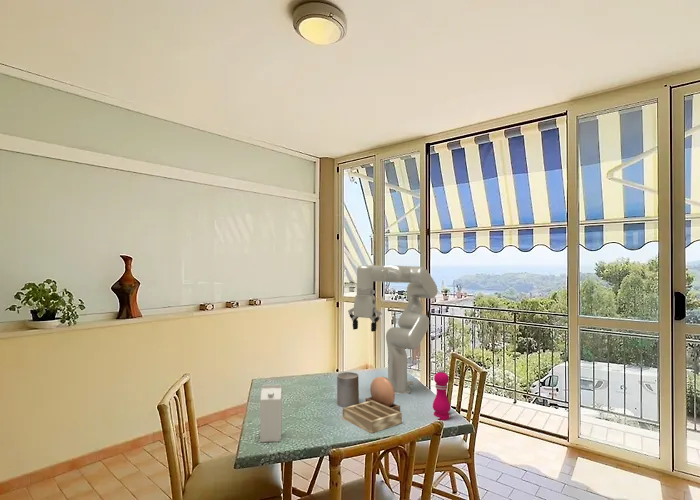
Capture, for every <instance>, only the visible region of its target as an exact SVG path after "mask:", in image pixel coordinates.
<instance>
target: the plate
mask: <svg viewBox="0 0 700 500" xmlns="http://www.w3.org/2000/svg"><path fill="white" fill-rule="evenodd" d="M370 397H372V399H373V400H374V401H376V402H379V403H381V404H383V405H386V406H388V407H391V406H392V405H393V403H394V404H395V399H396V394H395V392H394V388H393V385H392V384H391V382H390V381H389V380H388V377H385V376H378V377H375V378H374V379H372V381H371V384H370Z"/></svg>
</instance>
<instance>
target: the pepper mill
mask: <svg viewBox="0 0 700 500" xmlns="http://www.w3.org/2000/svg"><path fill="white" fill-rule="evenodd" d="M433 379H434V382H435V389H436V396H435V397H434V400H433V403H432V409H433V411H434V412H433V415H434V417H436V418H437V420H439V421H448V420H450V413H449V412H450V411H451V403H450V400H449V397H448V394H447V390H448V386H449V385H448V383H449V381H450V377H449V375H448V374H447V373H445V371H444V369H443V368H440V369H439V372H436V373H435V374H434V377H433Z"/></svg>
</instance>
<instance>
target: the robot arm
mask: <svg viewBox="0 0 700 500" xmlns="http://www.w3.org/2000/svg"><path fill="white" fill-rule="evenodd" d="M374 282H385V283H395V284H396V283H399V284H400V283H401V284H405V283H406V284H407V286H406V294H407V305H406V307H405V308H404V309H403V311H402V313H401V315H400V316H399V318H398V320H397V324H398V326H395V327H390V328H389V329H388V330H387V331H386V333H385V342H386V347H387V379H388V380H389V381H390V382H391V384H392V385H393V388H394V392H395V395H396V394H398V395H399V394H400V395H402V394H408V395H409V394H410V393H411V389H410V388H409V387H411V386H413V385H415V383H414V381H413V380H411V381H408V354H407V351H406V350H416V349H417V348H418V347H419V346H420V344H421V342H422V341H423V339H424V337H425V335H426V333H427V332H428V329H429V327H430V326H429V325H430V320H429V317H428V315H427V314H426V313H423V310H424V307H423V303H422V301H421V299H434V298H435V297H436V296H437V294H438V286H437V284H436V282H435V281H434V278H433V277H432V275H431V274H430V273H429V271H428V270H427V268H425V267H424V266H414V265H413V266H411V265H408V266H407V265H358V267H357V268H356V295H355V297H354V301H353V307H352V308H351V309H349V310H348V315H349V317H350V319H351V321H352V330H353V331H354V330H358V328H359V318H365V319H370V320H371V323H370V332H373V333H374V332H376V331H377V323H378V321H380V319H381V317H382V315H383V313H382V312H381V311H379V310H378V309H377V301H376V296H375V295H374V294H376V290H374Z"/></svg>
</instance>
